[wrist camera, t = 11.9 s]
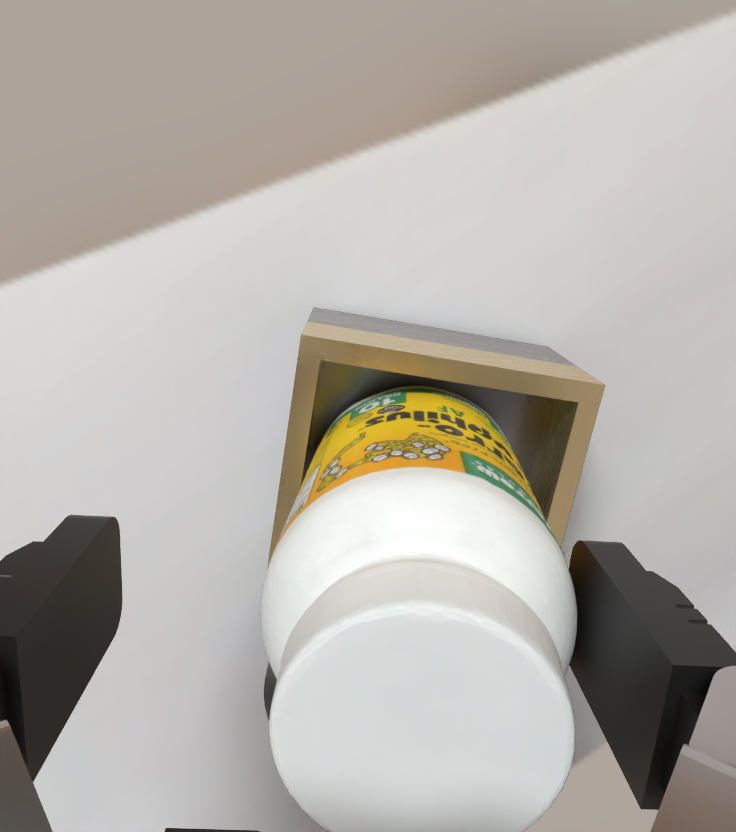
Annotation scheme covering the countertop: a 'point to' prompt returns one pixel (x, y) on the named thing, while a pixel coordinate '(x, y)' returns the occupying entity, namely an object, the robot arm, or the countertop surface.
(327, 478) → the supplement bottle
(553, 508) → the tan and grey box
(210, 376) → the countertop surface
